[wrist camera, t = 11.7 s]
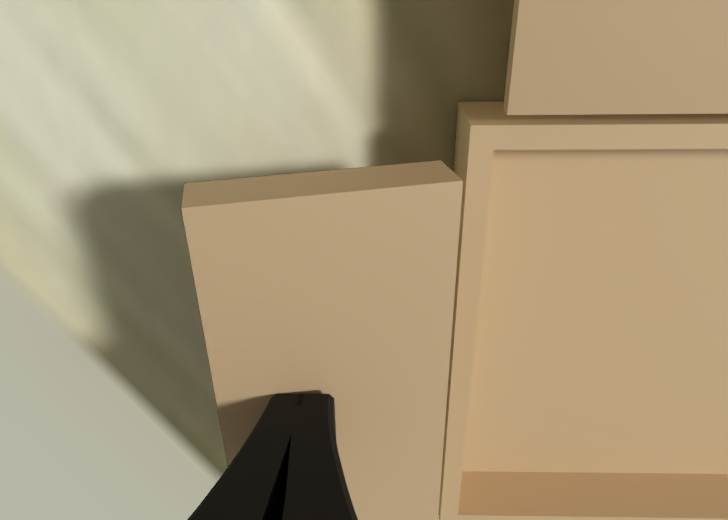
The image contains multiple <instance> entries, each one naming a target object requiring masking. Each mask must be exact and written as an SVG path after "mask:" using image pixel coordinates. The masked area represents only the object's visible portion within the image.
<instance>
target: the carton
mask: <svg viewBox="0 0 728 520" xmlns="http://www.w3.org/2000/svg"><path fill="white" fill-rule="evenodd" d="M454 173H455V174H456V175H457V176H459V177H460V178H461V179H462V180H463V188H462V202H461V215H460V229H459V242H458V256H457V269H456V283H455V296H454V310H453V323H452V337H451V350H450V364H449V377H448V390H447V404H446V417H445V431H444V444H443V458H442V471H441V485H440V498H439V512H438V514H439V520H728V0H514V9H513V18H512V28H511V38H510V47H509V57H508V67H507V76H506V86H505V96H504V101H486V102H458V114H457V129H456V144H455V160H454Z"/></svg>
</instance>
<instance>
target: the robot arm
mask: <svg viewBox="0 0 728 520" xmlns="http://www.w3.org/2000/svg"><path fill="white" fill-rule="evenodd" d="M188 520H358V518H357V516H356V513H355V510H354V507H353V504H352V500H351V497H350V494H349V491H348V488H347V484H346V481H345V477H344V473H343V469H342V465H341V461H340V457H339V452H338V448H337V442H336V423H335V403H334V398H333V397H332V396H331V395H330V394H282V393H277V394H275V395H274V396H273V397H272V398H271V399H270V401H269V403H268V405H267V406H266V408H265V410H264V412H263V414H262V415H261V417H260V419H259V420H258V422H257V424H256V425H255V427H254V429H253V430H252V432H251V433H250V435H249V437H248V438H247V440H246V441H245V443H244V444H243V446H242V447H241V449H240V450H239V452H238V453H237V455H236V456H235V458H234V459H233V460H232V462H231V463H230V465H229V466H228V468H227V469H226V471H225V472H224V473H223V475H222V476H221V478H220V479H219V480H218V481H217V483H216V484H215V486H214V487H213V488H212V489H211V491H210V492H209V493H208V495H207V496H206V497H205V499H204V500H203V501H202V502H201V504H200V505H199V506H198V507H197V509H196V510H195V511H194V512H193V514H192V515H191V516H190V517H189V518H188Z"/></svg>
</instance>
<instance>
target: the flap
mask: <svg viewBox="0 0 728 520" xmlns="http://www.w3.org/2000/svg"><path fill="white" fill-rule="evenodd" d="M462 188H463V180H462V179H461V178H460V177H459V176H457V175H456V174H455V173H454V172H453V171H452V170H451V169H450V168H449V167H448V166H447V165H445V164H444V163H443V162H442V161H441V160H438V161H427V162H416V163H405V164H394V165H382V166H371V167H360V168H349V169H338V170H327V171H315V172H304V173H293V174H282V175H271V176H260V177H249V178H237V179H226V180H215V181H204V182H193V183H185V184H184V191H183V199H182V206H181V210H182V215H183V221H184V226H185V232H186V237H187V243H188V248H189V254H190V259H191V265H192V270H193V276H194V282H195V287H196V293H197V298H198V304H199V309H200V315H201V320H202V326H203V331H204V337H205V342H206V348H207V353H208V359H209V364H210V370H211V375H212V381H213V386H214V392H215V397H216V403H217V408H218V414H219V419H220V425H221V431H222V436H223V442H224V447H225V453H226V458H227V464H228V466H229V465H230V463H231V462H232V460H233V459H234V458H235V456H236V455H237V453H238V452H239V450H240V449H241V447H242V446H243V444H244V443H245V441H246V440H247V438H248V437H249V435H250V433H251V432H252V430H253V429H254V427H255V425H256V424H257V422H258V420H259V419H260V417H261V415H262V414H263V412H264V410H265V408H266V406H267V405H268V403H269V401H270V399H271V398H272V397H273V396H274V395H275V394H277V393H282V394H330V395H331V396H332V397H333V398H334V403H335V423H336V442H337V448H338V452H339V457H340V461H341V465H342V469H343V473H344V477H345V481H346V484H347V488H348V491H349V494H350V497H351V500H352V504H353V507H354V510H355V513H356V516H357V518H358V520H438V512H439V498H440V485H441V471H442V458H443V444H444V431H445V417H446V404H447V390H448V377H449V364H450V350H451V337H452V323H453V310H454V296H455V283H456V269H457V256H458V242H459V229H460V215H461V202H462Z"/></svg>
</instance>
